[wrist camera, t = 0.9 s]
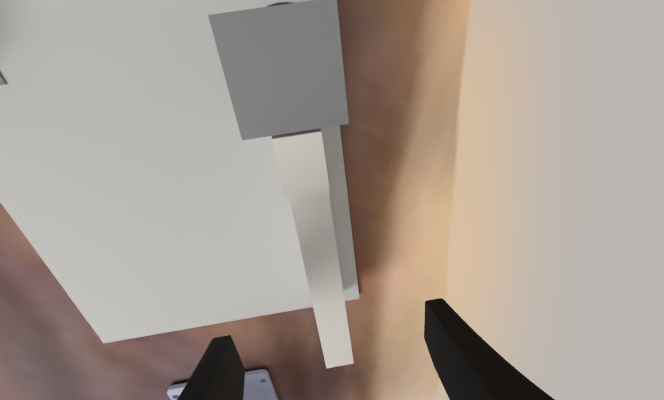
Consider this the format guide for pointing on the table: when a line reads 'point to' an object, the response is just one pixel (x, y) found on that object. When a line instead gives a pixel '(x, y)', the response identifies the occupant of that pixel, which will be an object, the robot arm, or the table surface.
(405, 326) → the table surface
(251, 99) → the gate
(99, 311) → the mat
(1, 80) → the dark grey stepped block
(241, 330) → the table surface
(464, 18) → the table surface
